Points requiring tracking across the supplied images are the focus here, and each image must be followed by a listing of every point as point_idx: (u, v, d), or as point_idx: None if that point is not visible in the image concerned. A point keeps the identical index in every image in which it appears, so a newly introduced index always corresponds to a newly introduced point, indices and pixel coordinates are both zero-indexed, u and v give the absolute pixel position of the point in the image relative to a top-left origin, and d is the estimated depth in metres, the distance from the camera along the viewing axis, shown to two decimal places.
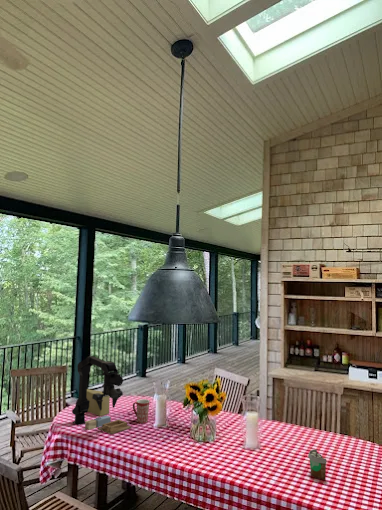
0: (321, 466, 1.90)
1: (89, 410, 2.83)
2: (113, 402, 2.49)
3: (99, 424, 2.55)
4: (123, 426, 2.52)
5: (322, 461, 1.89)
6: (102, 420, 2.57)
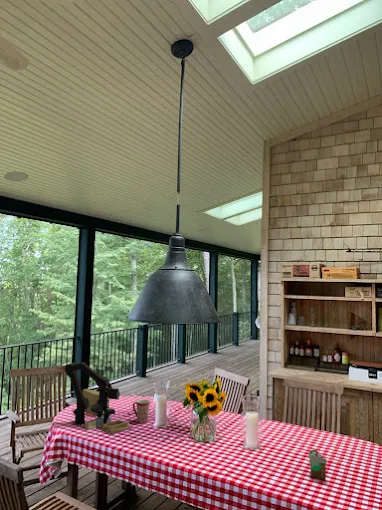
0: (321, 466, 1.90)
1: (89, 410, 2.83)
2: None
3: (99, 424, 2.55)
4: (123, 426, 2.52)
5: (322, 461, 1.89)
6: (102, 420, 2.57)
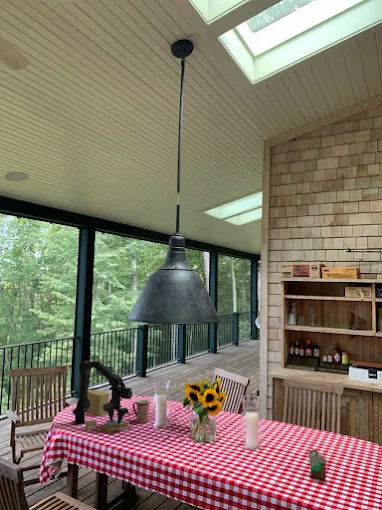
0: (321, 466, 1.90)
1: (89, 410, 2.83)
2: None
3: None
4: (123, 426, 2.52)
5: (322, 461, 1.89)
6: (115, 422, 2.50)
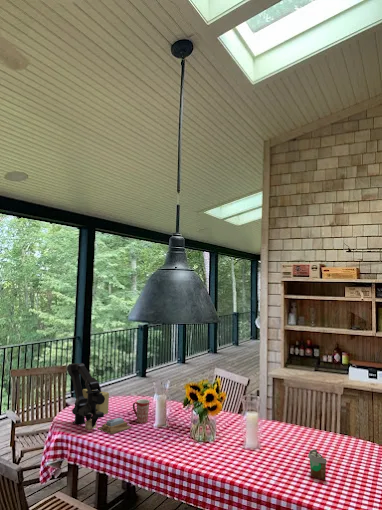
0: (321, 466, 1.90)
1: None
2: None
3: None
4: (123, 426, 2.52)
5: (322, 461, 1.89)
6: (115, 422, 2.50)
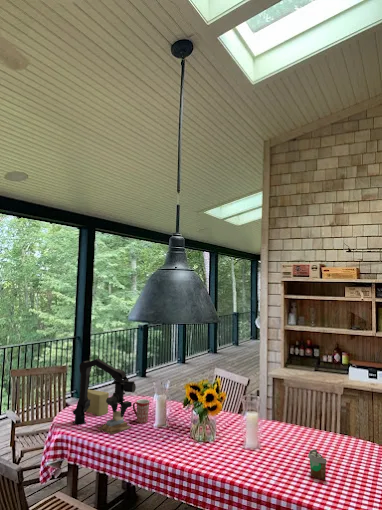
0: (321, 466, 1.90)
1: (88, 410, 2.84)
2: None
3: None
4: (123, 426, 2.52)
5: (322, 461, 1.89)
6: (115, 422, 2.50)
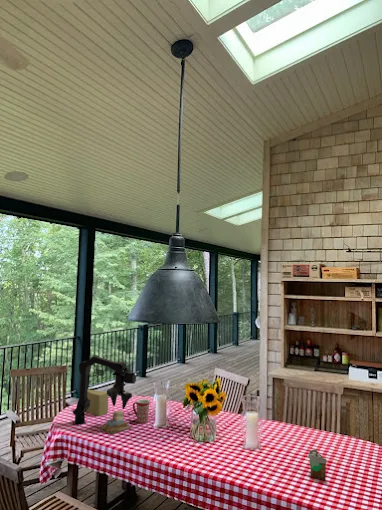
0: (321, 466, 1.90)
1: (88, 410, 2.84)
2: None
3: None
4: (123, 426, 2.52)
5: (322, 461, 1.89)
6: (115, 422, 2.50)
